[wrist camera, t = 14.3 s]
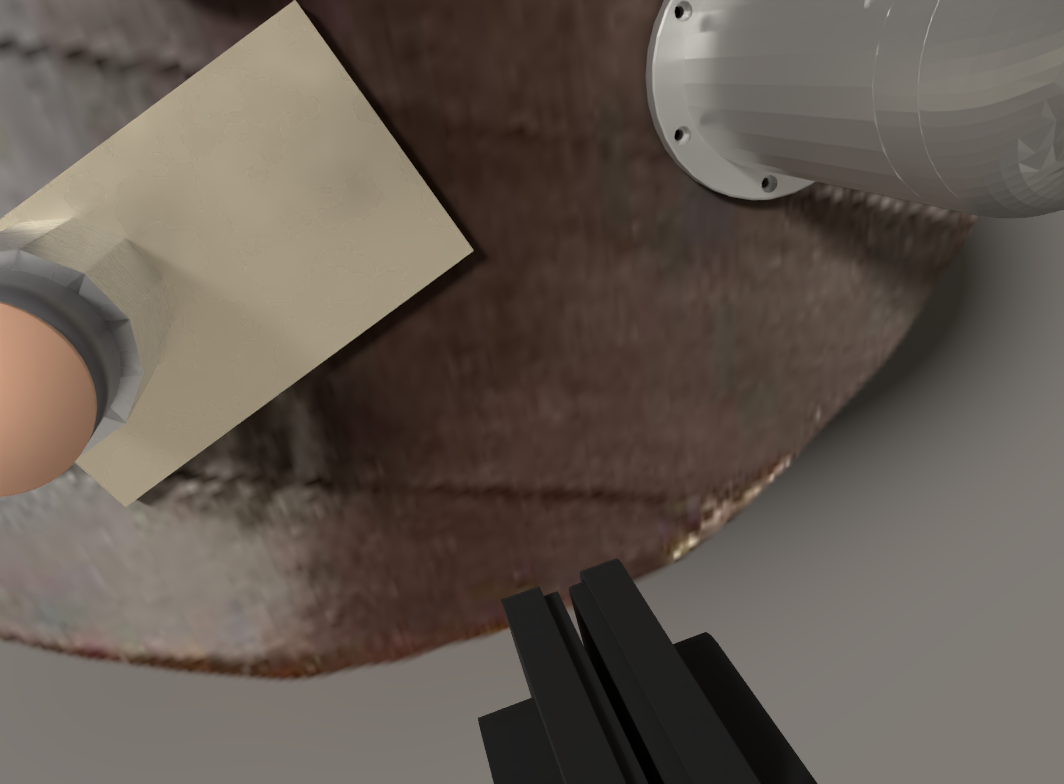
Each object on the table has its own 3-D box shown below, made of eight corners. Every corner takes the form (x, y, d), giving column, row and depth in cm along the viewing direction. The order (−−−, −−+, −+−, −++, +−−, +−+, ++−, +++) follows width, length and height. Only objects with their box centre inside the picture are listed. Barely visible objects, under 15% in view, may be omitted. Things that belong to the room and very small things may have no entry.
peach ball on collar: (42, 217, 31) (-28, 253, 24) (173, 351, 34) (141, 414, 27) (-101, 323, 31) (-207, 388, 25) (43, 448, 34) (-20, 534, 27)
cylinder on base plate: (295, 1, 35) (290, -18, 27) (470, 246, 40) (504, 284, 33) (-97, 294, 35) (-205, 350, 28) (129, 497, 41) (89, 589, 33)
